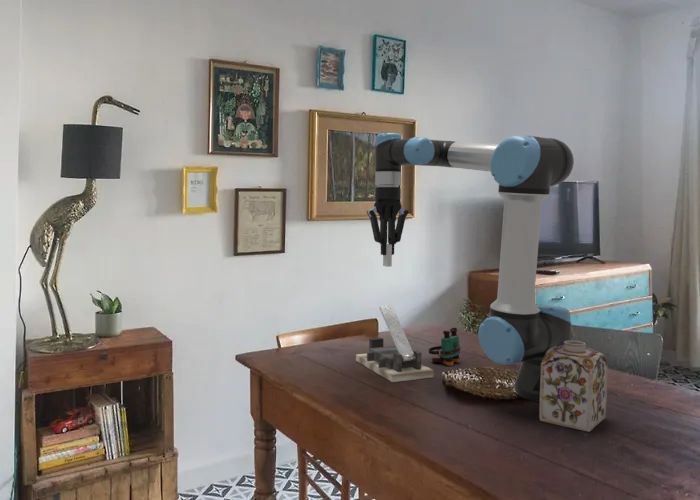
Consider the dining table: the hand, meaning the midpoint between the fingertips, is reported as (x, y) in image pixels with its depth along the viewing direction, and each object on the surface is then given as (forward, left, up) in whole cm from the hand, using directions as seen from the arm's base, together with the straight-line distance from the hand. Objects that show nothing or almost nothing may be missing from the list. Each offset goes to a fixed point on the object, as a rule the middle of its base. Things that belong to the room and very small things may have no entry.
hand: (387, 266), depth 189 cm
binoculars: (-3, -18, -30) cm, 35 cm away
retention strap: (-6, 0, -19) cm, 20 cm away
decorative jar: (-59, -18, -30) cm, 69 cm away
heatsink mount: (-4, 0, -30) cm, 30 cm away
